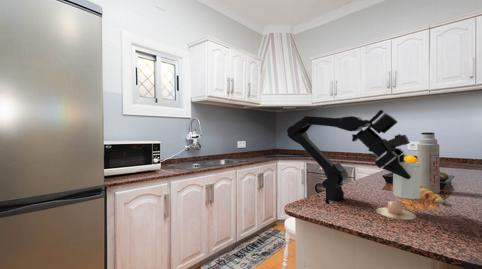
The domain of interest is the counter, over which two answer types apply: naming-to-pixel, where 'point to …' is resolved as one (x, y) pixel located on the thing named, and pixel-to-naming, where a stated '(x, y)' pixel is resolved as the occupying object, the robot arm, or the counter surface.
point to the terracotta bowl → (395, 207)
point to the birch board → (404, 215)
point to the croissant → (428, 195)
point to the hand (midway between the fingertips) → (411, 176)
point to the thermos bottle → (429, 162)
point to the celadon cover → (408, 182)
